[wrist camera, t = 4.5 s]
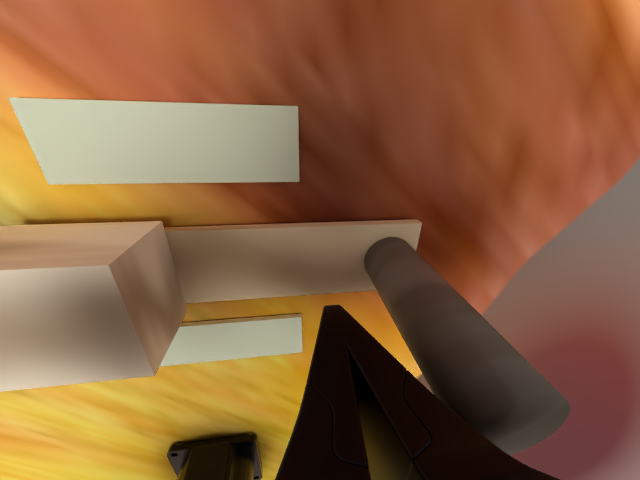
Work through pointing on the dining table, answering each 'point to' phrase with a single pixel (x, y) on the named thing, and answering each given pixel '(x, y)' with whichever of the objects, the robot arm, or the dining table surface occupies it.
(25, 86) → the dining table surface
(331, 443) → the robot arm
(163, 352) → the sled
